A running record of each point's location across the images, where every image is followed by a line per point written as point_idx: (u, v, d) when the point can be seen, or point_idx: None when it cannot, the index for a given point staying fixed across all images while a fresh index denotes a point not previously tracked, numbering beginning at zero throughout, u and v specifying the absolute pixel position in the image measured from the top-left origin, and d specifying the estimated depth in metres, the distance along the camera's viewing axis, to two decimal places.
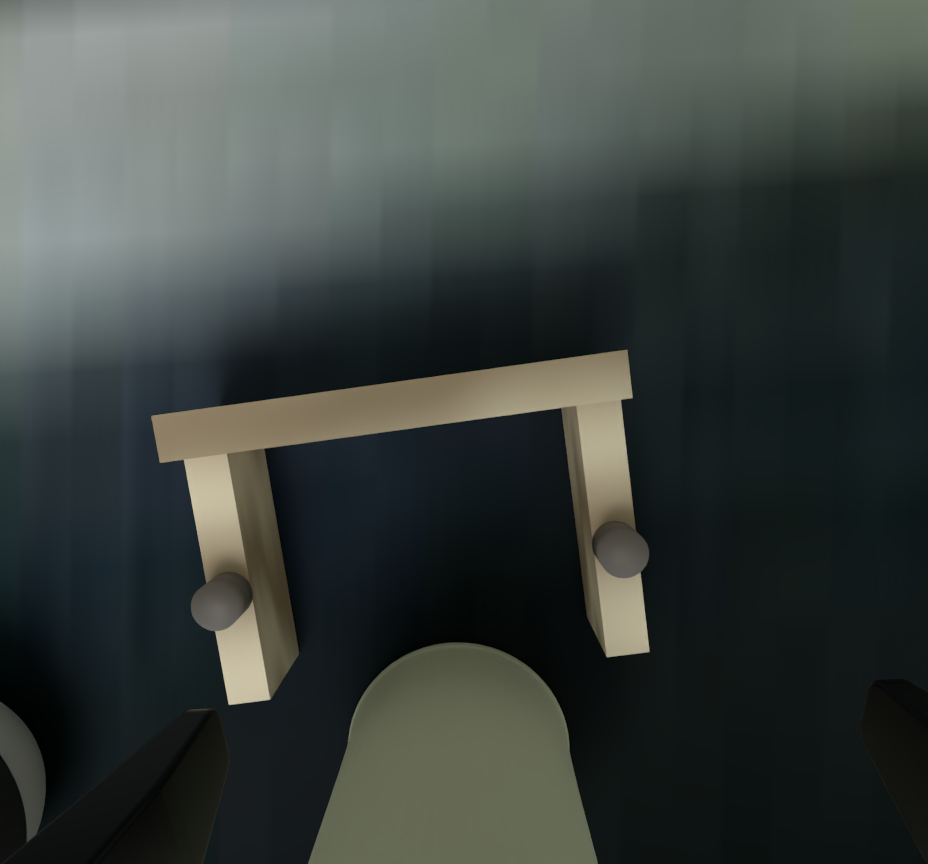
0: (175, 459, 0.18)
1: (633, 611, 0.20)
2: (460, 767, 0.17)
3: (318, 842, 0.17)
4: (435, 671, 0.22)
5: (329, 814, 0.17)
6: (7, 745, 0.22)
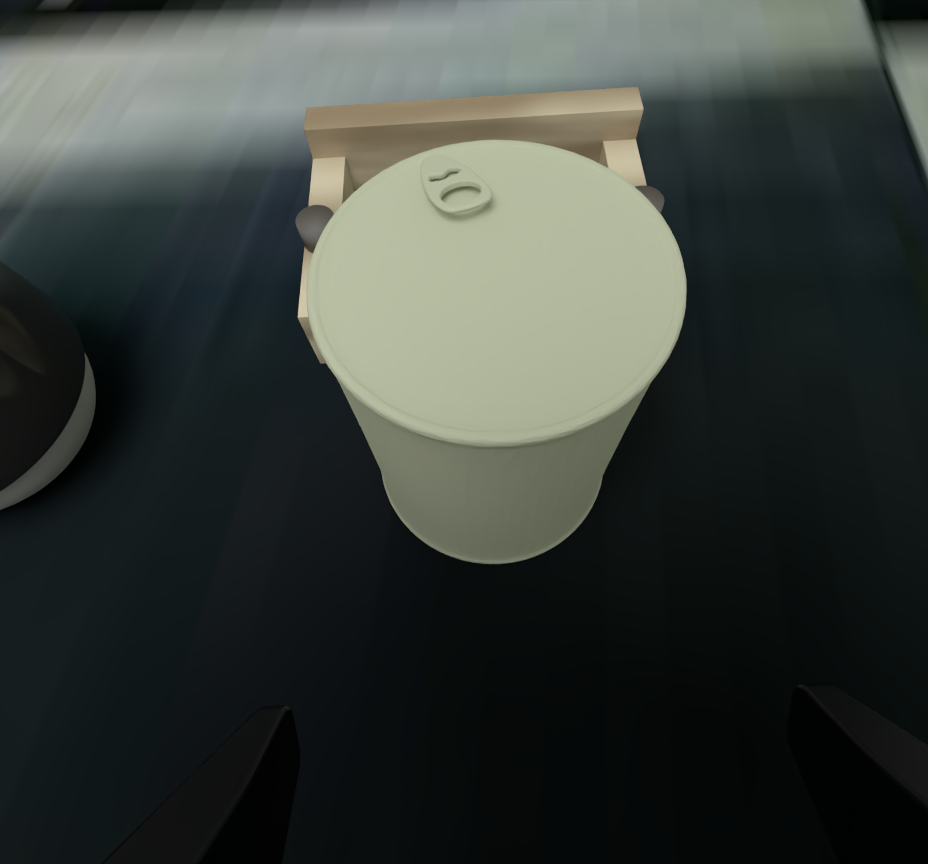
0: (315, 128, 0.26)
1: None
2: None
3: None
4: None
5: None
6: (85, 357, 0.24)
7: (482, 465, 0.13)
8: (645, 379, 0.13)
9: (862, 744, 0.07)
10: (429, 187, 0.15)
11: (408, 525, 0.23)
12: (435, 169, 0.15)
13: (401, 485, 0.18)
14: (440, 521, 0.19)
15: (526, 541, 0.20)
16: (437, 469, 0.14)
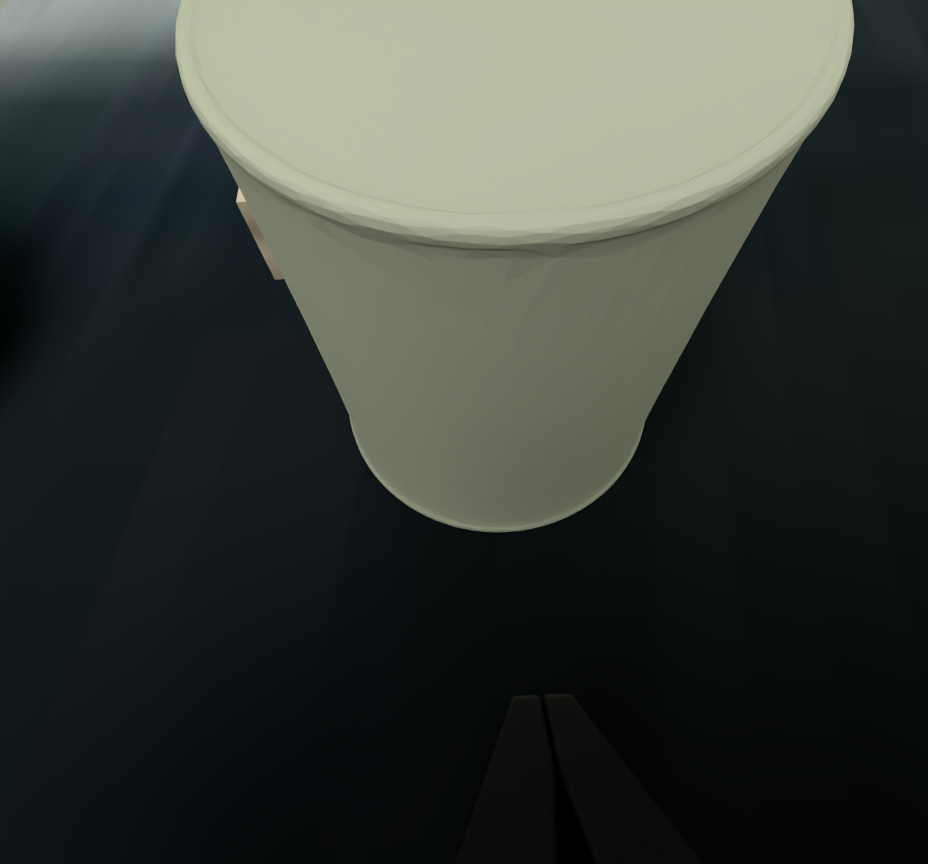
0: None
1: None
2: None
3: None
4: None
5: None
6: None
7: (484, 313, 0.07)
8: (799, 126, 0.07)
9: (560, 756, 0.07)
10: None
11: (383, 480, 0.17)
12: None
13: (362, 400, 0.12)
14: (422, 460, 0.13)
15: (546, 496, 0.14)
16: (407, 336, 0.08)
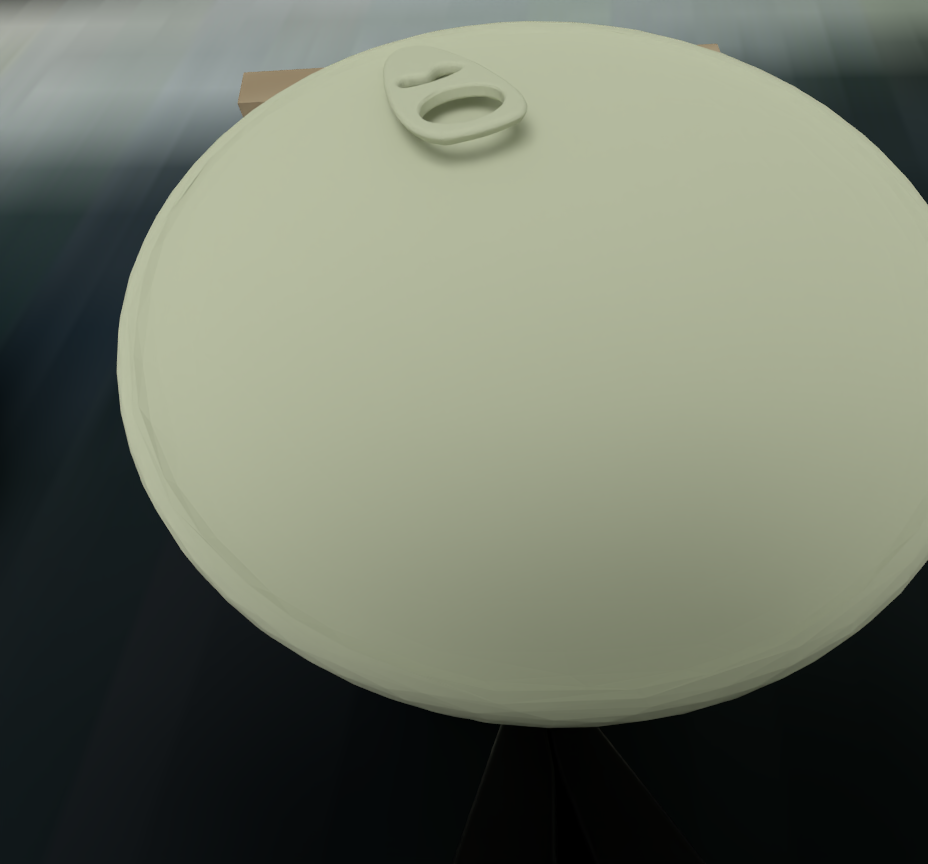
0: (254, 100, 0.18)
1: None
2: None
3: None
4: None
5: None
6: None
7: None
8: None
9: (560, 756, 0.07)
10: (398, 97, 0.07)
11: None
12: (412, 68, 0.08)
13: None
14: None
15: None
16: None
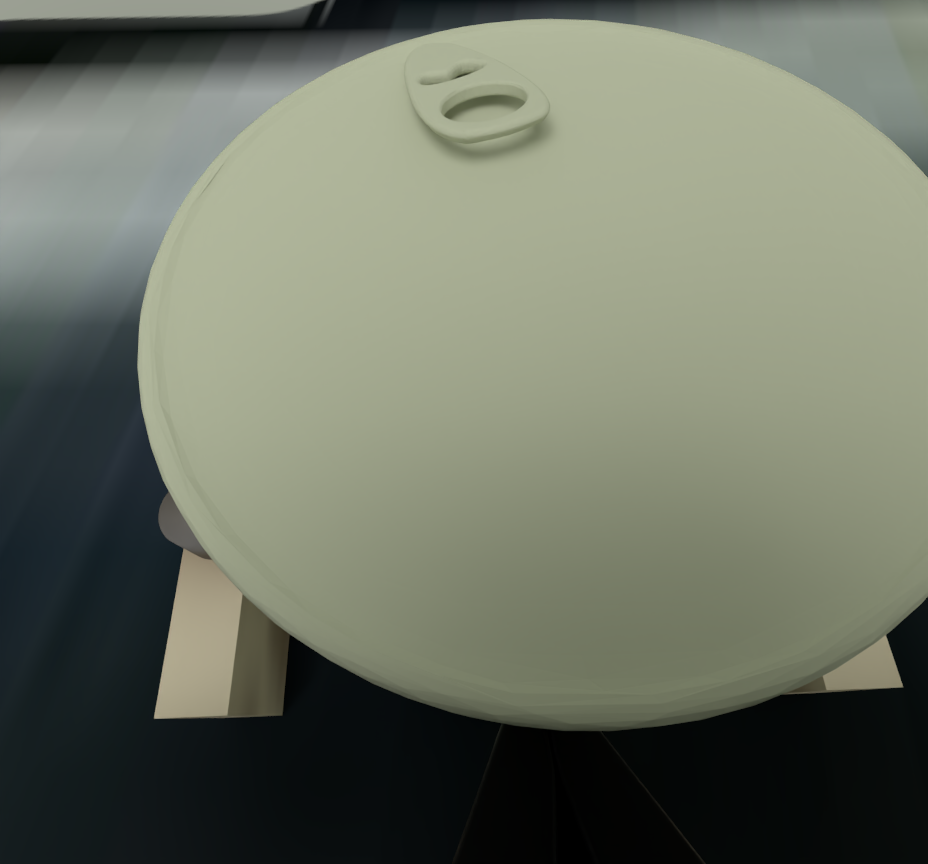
0: None
1: None
2: None
3: None
4: None
5: None
6: None
7: None
8: None
9: (560, 756, 0.07)
10: (419, 94, 0.07)
11: None
12: (433, 65, 0.08)
13: None
14: None
15: None
16: None
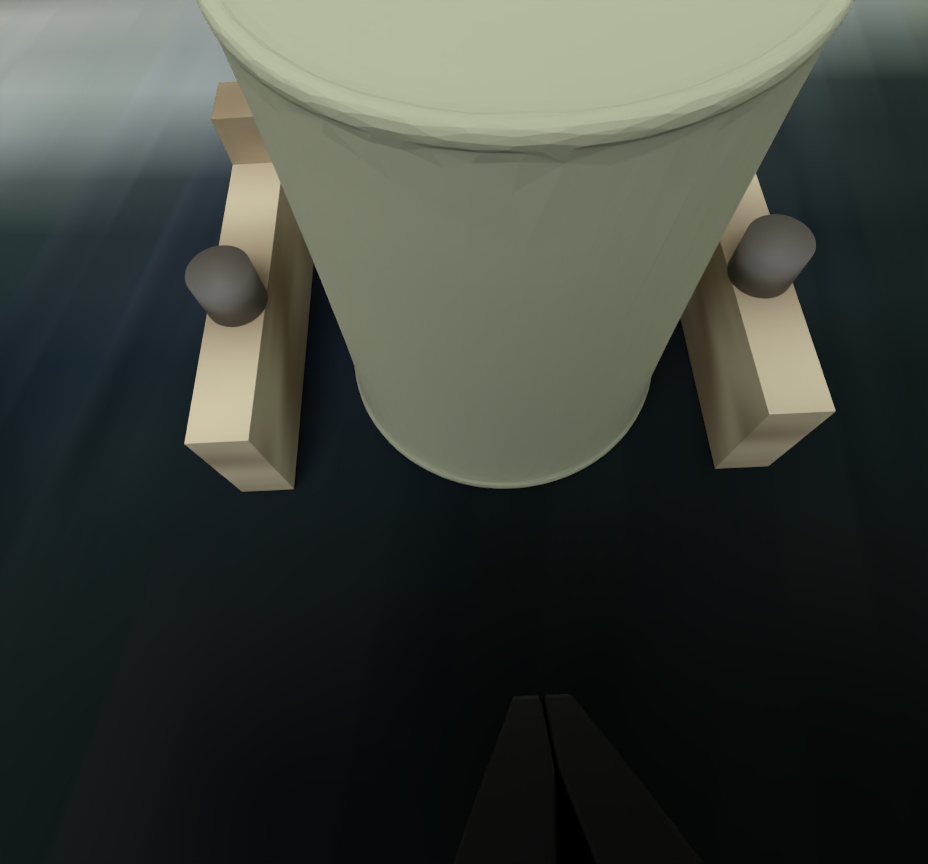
0: (229, 115, 0.16)
1: (799, 354, 0.14)
2: None
3: None
4: None
5: None
6: None
7: (492, 229, 0.07)
8: (812, 35, 0.07)
9: (560, 757, 0.07)
10: None
11: (387, 435, 0.17)
12: None
13: (368, 341, 0.12)
14: (427, 407, 0.13)
15: (549, 448, 0.15)
16: (414, 259, 0.08)
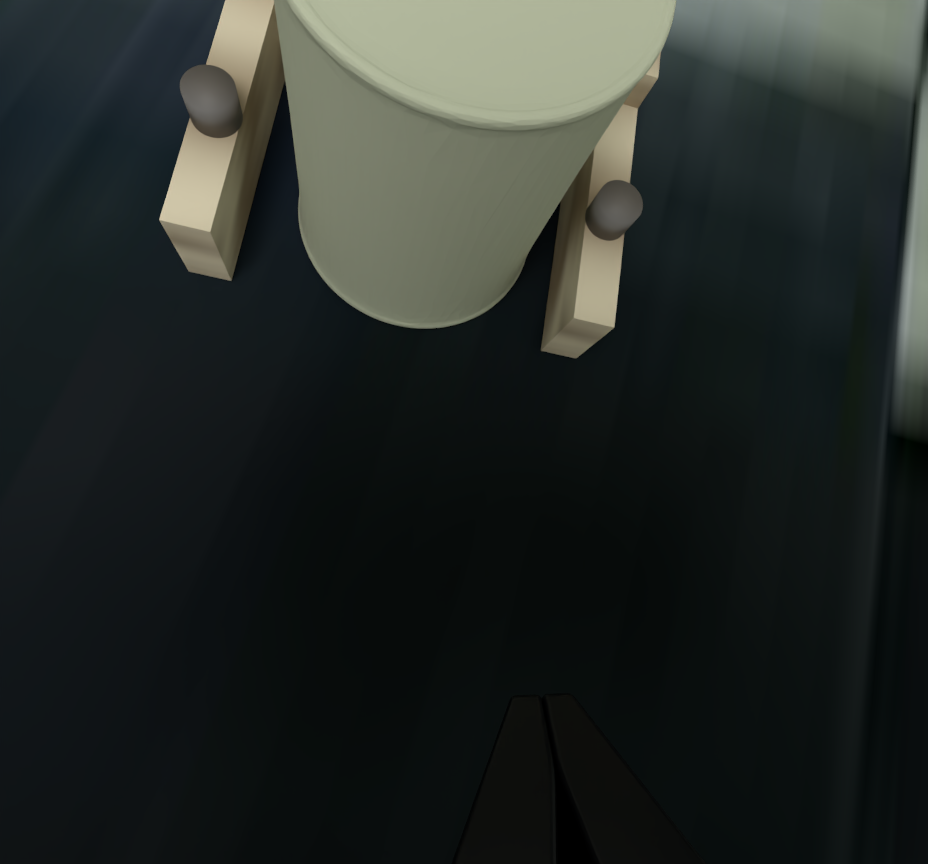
0: None
1: (608, 284, 0.20)
2: None
3: None
4: None
5: None
6: None
7: (409, 148, 0.13)
8: (599, 101, 0.12)
9: (560, 757, 0.07)
10: None
11: (314, 260, 0.22)
12: None
13: (317, 186, 0.17)
14: (348, 246, 0.18)
15: (428, 302, 0.20)
16: (361, 147, 0.13)
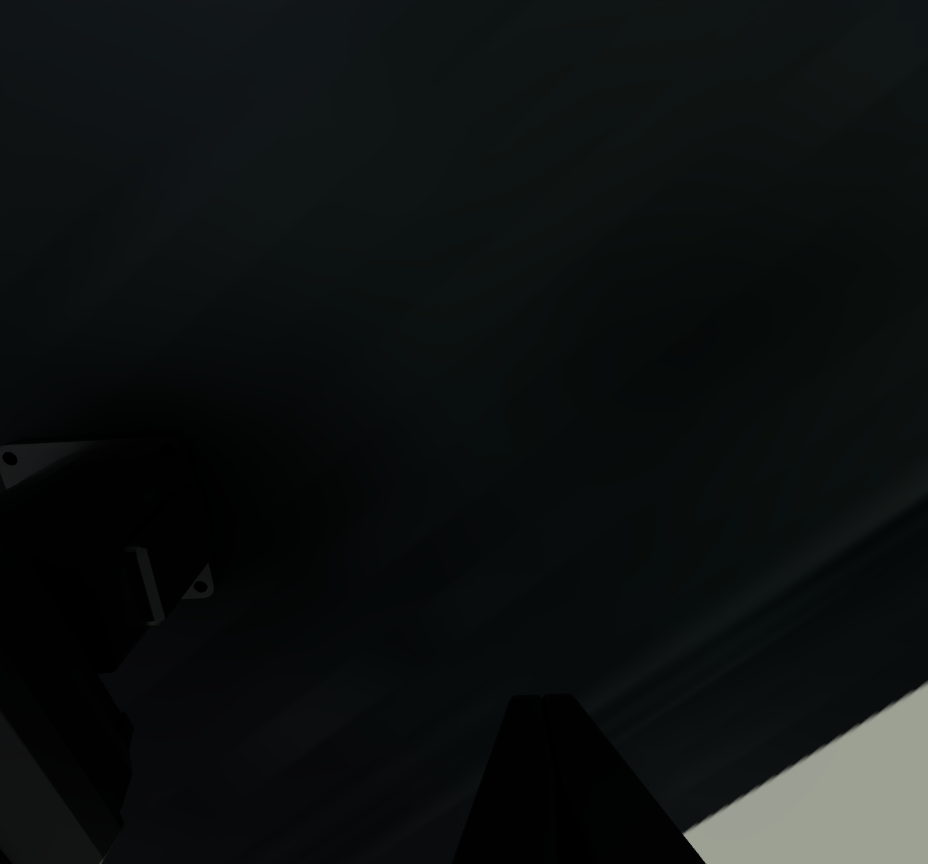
0: None
1: None
2: None
3: None
4: None
5: None
6: None
7: None
8: None
9: (560, 756, 0.07)
10: None
11: None
12: None
13: None
14: None
15: None
16: None
